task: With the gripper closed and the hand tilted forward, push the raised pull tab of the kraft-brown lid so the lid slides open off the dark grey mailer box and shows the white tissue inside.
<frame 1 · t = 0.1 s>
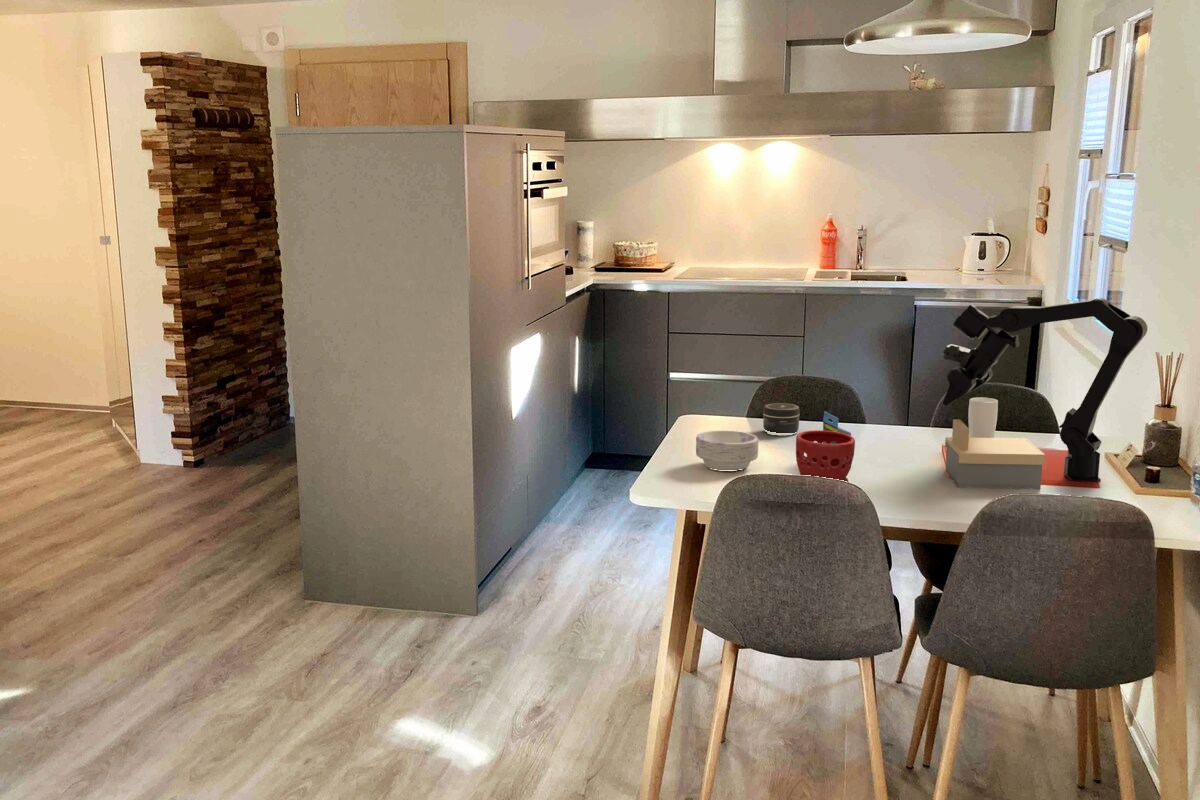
hand: (950, 401, 260), 15 cm above the table, tool tilted 35°, fingers open, 9 cm apart
mailer box: (991, 479, 245), on the table
paper bowls: (726, 468, 259), on the table
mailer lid: (993, 439, 243), point 9 cm above the table, slide at 0.0 cm
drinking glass: (980, 459, 264), on the table
plant pot: (823, 487, 241), on the table
label tape box: (836, 463, 263), on the table
jar: (780, 433, 295), on the table
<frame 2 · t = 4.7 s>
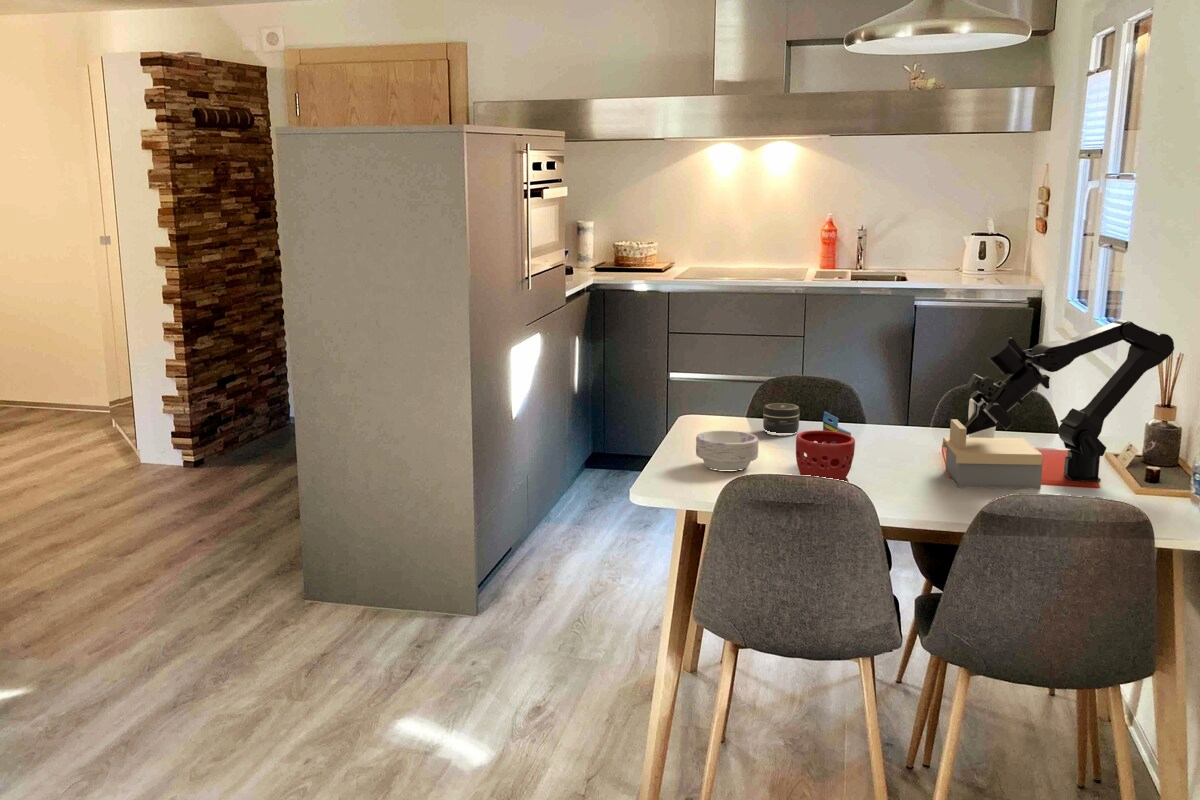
hand: (962, 434, 244), 11 cm above the table, tool tilted 45°, fingers closed, pressing on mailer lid
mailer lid: (991, 439, 243), point 9 cm above the table, slide at 0.6 cm, touching gripper
everything else where it was.
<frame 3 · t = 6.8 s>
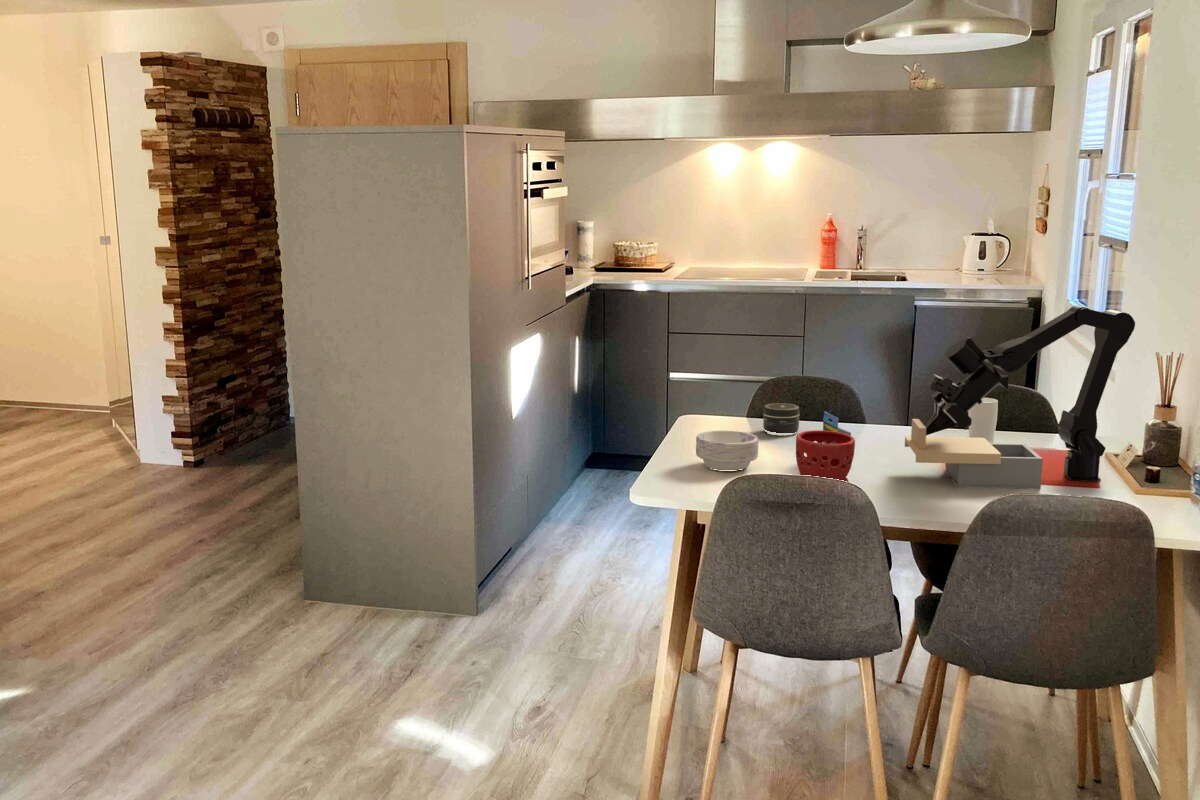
hand: (923, 434, 245), 11 cm above the table, tool tilted 45°, fingers closed, pressing on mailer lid
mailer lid: (951, 439, 244), point 9 cm above the table, slide at 9.4 cm, touching gripper
everything else where it was.
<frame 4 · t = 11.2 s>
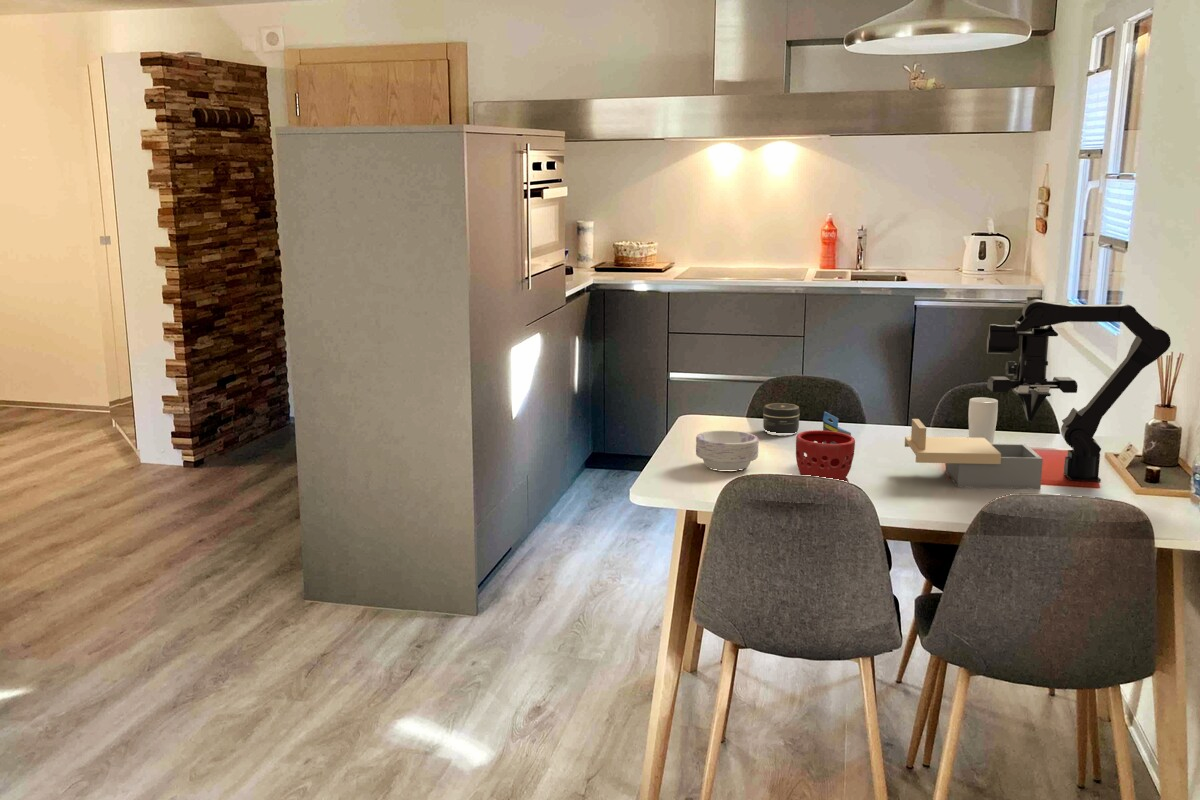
hand: (1029, 420, 246), 13 cm above the table, tool pointing down, fingers closed
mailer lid: (951, 439, 244), point 9 cm above the table, slide at 9.4 cm
everything else where it was.
at the end: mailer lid slide at 9.4 cm; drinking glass moved 0.2 cm from its start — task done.
